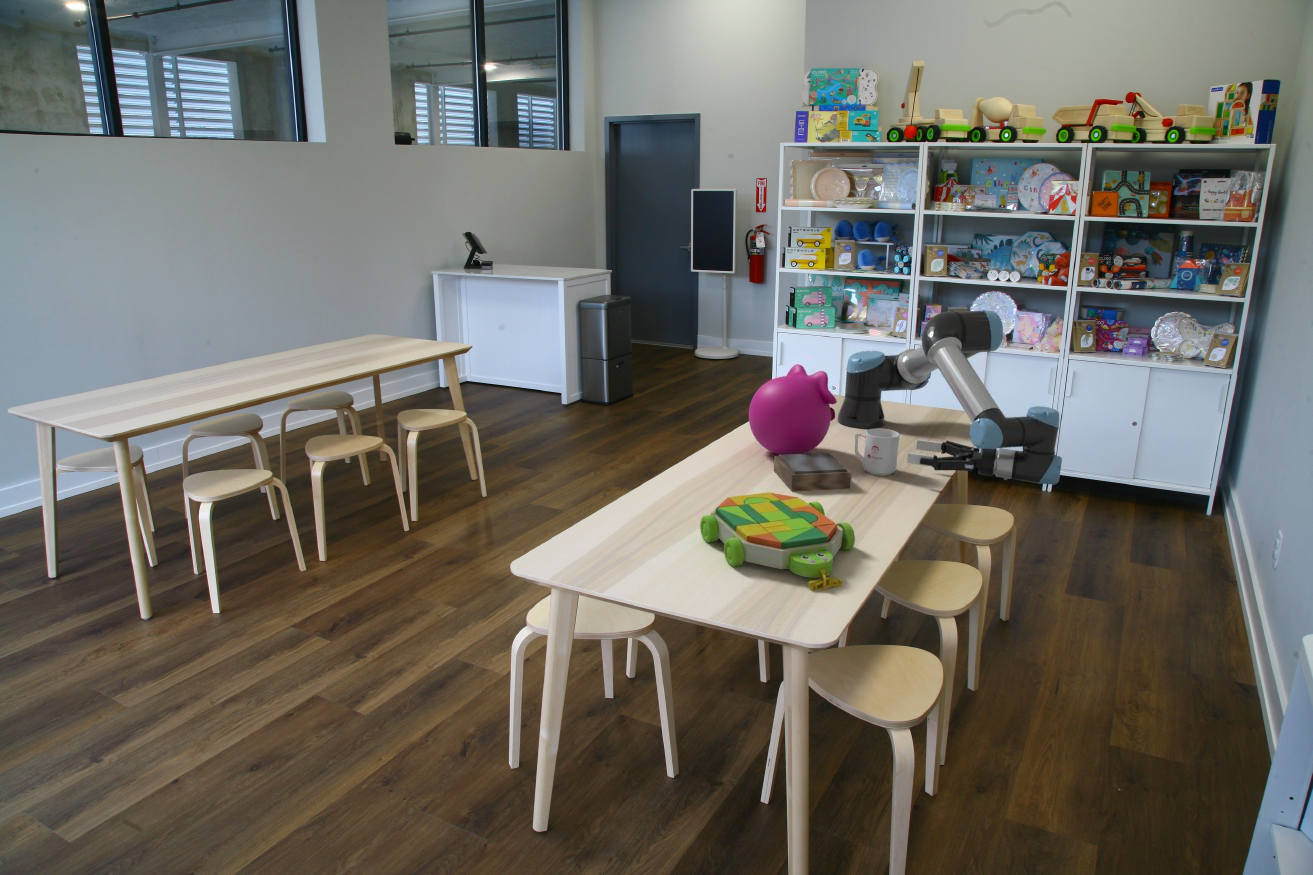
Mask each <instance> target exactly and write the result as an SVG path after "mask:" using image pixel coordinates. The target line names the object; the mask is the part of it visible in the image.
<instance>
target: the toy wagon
mask: <svg viewBox="0 0 1313 875" xmlns="http://www.w3.org/2000/svg"><path fill="white" fill-rule="evenodd" d="M825 514H826V513H825V509H824V507H823V505H822V504H821V503H820V502H818V501H812V502H811V501H810V502H806V501H805V500H803V498H801V497H799V496H798V497H797V496H793V495H786V494H779V493H775V492H761V493H751V494H743V495H735V496H728V497H726V498H725V499H724V500H723V501H722V502H721V503H720V504H719V505H718V506H716V508H714V509H713V510H712V511H711V512H710V515H709V514H707V515H703V516H701V519H700V523H699V528H700V535H701V537H702V540H703V541H704V542H705V543H707V544H709V543H710V544H711V543H715V542H717V541H718V539H720V541H721V542H722V543H723V544H724V545H723V553H724V558H725V560H726V562H727V564H728V566H730V567H732V568H735V567H741V566H742V565H743V563H744V562H747V563H751V564H757V565H761V566H763V567H769V568H774V569H778V570H779V569H780V570H785V569H786V570H787V569H788V570H789V571H791V572H792V573H793V574H795V575H798V576H801V577H805V578H814V579H815V580H814V579H813V580H809V581H808V582H807V585H808V589H809V590H810V591H811V592H815V591H825V590H828V589H830V588H840V587H842V586H843V583H844V582H843V581H842V579H840V578H838V577H835V576H831V577H827V576H829V575H830V574H831V573H832V572H833V564H834V558H835V556H836V555H837V553H838V552H839V550H842V551H849V550H852V549H853V547H854V546H855V541H856V535H855V530H854V528H853V527H852V526H851V524H850V523H849V522H846V521H845V522H839V523H835V522H834V521H833V520H832V519H830V518H829V517H827V516H826V515H825ZM817 578H818V579H817ZM819 578H820V579H819Z"/></svg>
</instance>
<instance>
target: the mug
mask: <svg viewBox="0 0 1313 875" xmlns="http://www.w3.org/2000/svg"><path fill="white" fill-rule="evenodd" d="M854 436H855V437H854V453H855V455H856V456H857V457H858V458H859V459H860V460H861V461H862V463H863V465H862V466H863V469H864V470H865V471H866V472H867V473H868V474H870V475H873V476H878V475H879V476H882V477H884V476H886V475H887V476H890V475H892V474H894V473H895V472H896V470H897V466H898V464H897V463H898V457H899V454H898V452H899V447H900V446H899V444H900V433H899V432H897V431H895V430H893V429H887V428H869V429H867V430H866V432H865V433H856V434H854ZM859 437H863V438H865V442H864V453H863V455H862V454H861V453H860V452H859V449H858V448H859ZM887 476H886V477H887Z"/></svg>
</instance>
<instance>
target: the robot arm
mask: <svg viewBox="0 0 1313 875" xmlns="http://www.w3.org/2000/svg"><path fill="white" fill-rule="evenodd" d="M921 334H922V335H921V346H919V347H918V348H916V349H915V348H909V349H905V350H904V351H901V352H900V353H899V354H895V355H894V354H891V355H889V354H888V355H885V353H884V352H882V351H879V350H864V351H863V350H862V351H858V352H855V353H852V354H851V355H850V356H848V359H847V364H846V369H845V370H846V375H845V376H846V378H845V392H844V398H843V402H842V404H841V407H840V409H839V411H838V414H837V422H838V423H839V424H841V425H843V426H847V427H851V428H857V429H858V428H859V429H877V428H880V427H883V426H884V425H885V417H886V416H885V413H884V409H883V405H882V393H883V392H889V391H890V392H891V391H917V390H920V389H923V388H924V387H926V386H927V384H928V383H929V380H930V379H931V375H932V372H933V371H935V370H937V369H938V370H939V371H940V373H941V375H942V377H943V379H944V380H945V381H946V383H947V385H948V387H949V388H950V390H951V391H952V394H954V396H955V397H956V399H957V401H958V402H959V404H960V405H961V407H962V409H963V411H964V412H965V414H966V415H967V418H969V421H971V424H970V428H969V436H970V441H971V443H972V445H973V446H974V447H973V446H969V445H965V444H962V443H957V442H954V441H950V440H946V441H944V442H943V441H942V442H940V441H934V440H933V441H931V440H926V439H917V440H916V448H915V449H916V450H918V451H925V452H933V453H940V455H944V454H947V455H950V456H940V457H939V456H938V455H936V454H934V455H929V454H921V453H914V452H908V453H907V458H906V459H907V460H906V464H909V465H911V464H912V465H918V466H925V467H931V468H933V470H934V471H965V472H973V471H974V468H977V473H978V475H981V476H987V477H988V476H989V477H993V476H994V475H995V477H996V478H1003V481H1008V479H1009V480H1010V479H1012V480H1015V481H1023V482H1030V483H1036V484H1038V485H1039V484H1042V485H1057V484H1058V483H1059V482H1060V477H1061V470H1062V463H1063V457H1062V456H1060V455H1056V452H1055V450H1056V443H1057V438H1058V432H1059V429H1060V412H1059V411H1058V410H1057V409H1055V408H1051V407H1048V406H1040V405H1039V406H1032V407H1031V406H1030V407H1029V408H1028V409H1027V413H1026V415H1025V416H1014V417H1013V416H1011V417H1007V416H1005V414H1004V413H1003V412H1002V410H1001V409H1000V407H999V406H998V404H997V403H996V401H995V399H994V397H993V396H992V395H991V393H990V392H989V390H988V389H987V387H986V386H985V384H984V382H983V381H982V380H981V378H980V377H979V375H978V373H977V371H976V370H975V369H974V367H973V366H972V364H971V362H970V360H969V358H971V357H973V356H976V355H977V354H979V353H984V352H985V353H991V352H995V351H997V350H998V349H999V348H1000V346H1001V345H1002V341H1003V337H1004V336H1003V335H1004V326H1003V322H1002V319H1001V317H1000V315H999V314H998V313H997V312H996V311H993V310H986V309H983V310H964V311H963V310H962V311H961V310H960V311H958V310H957V311H953V310H952V311H942V312H939V313H937V314H936V315H934V316H933V317H930V319H929V320H928V321H927V323H926V324H925V326H924V328H923V331H922V333H921ZM1019 447H1022V450H1017V449H1016V450H1015V449H1008V448H1019ZM980 449H981V450H980Z"/></svg>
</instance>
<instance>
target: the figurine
mask: <svg viewBox="0 0 1313 875" xmlns="http://www.w3.org/2000/svg"><path fill="white" fill-rule="evenodd" d="M837 402H838V401H837V399H836V397H835V395H834V394H833V393H832V392H831V390H829V377H828V373H827V372H825V370H819V371H817V372H815V373H812V374H809V375H808V373H807V371H806V369H805V367H804V366H803V365H801V364H799V363H798V364H795V365H793V366H792V367H791V368H790V369H789V371H788V373H787V374H786V375H784V376H779V377H778V376H777V377H775V378H773V379H770V380H768V381H766V382H765V383H763V384H762V385H761V386H760V387H759V388H758V389H757V390H756V391H755V393H754V395H753V396H752V399H751V401H750V403H749V409H748V423H749V426H750V430H751V432H752V435H753V437H754V438H755V440H756V441H757V442H758V443H759V445H760V446H761V447H763V448H764V449H766V450H767V451H769V452H771V453H774V454H776V455H786V454H808V452H810V451H813V450H814V449H816V448H817V447H818V446H819V445H820V444H821V443H822V442H823V441H824V440H825V438H826V436H827V434H828V431H829V429H830V428H829V427H830V425H831V421H833V420H835V418H836V411H835V410H834V408H833V407H831V406H830V405H836V404H837Z"/></svg>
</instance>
